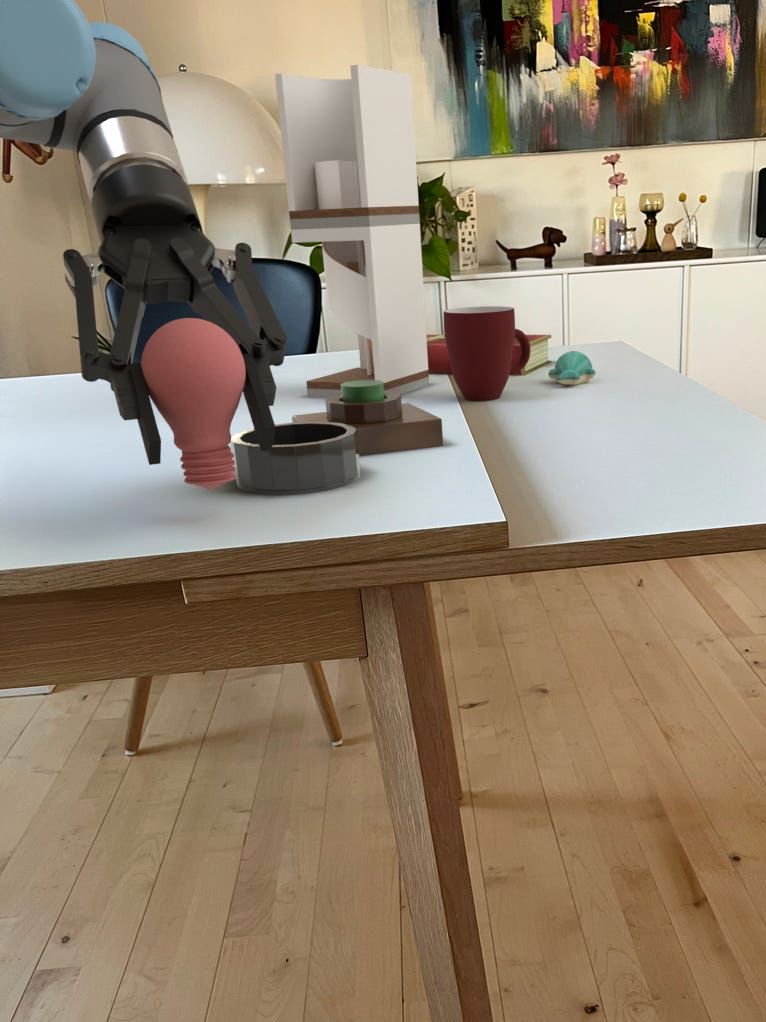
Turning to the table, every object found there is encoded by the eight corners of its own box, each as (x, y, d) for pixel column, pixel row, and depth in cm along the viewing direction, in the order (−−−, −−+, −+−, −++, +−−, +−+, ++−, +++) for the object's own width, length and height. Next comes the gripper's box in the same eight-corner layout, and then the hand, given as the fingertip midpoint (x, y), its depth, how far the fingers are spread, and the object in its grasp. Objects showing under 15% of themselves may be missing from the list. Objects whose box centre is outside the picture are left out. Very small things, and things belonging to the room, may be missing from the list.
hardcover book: (524, 376, 136) (523, 343, 134) (379, 374, 143) (377, 342, 142) (551, 363, 146) (551, 332, 145) (415, 362, 154) (413, 332, 152)
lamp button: (348, 407, 96) (346, 388, 95) (337, 401, 100) (336, 382, 99) (390, 403, 97) (388, 383, 97) (378, 396, 101) (376, 378, 100)
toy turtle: (599, 379, 131) (599, 348, 130) (591, 389, 125) (591, 356, 123) (553, 380, 132) (552, 349, 131) (543, 389, 126) (542, 357, 124)
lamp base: (317, 462, 94) (312, 412, 92) (294, 443, 102) (289, 396, 101) (443, 447, 98) (440, 398, 96) (410, 429, 106) (407, 384, 105)
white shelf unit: (358, 383, 137) (332, 82, 123) (429, 386, 132) (411, 74, 119) (308, 398, 127) (274, 74, 114) (382, 401, 123) (357, 64, 109)
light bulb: (163, 480, 79) (139, 316, 75) (259, 474, 80) (241, 311, 76) (153, 503, 73) (127, 325, 68) (257, 496, 74) (237, 320, 69)
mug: (504, 388, 128) (501, 303, 124) (547, 395, 122) (546, 306, 118) (434, 400, 122) (429, 311, 118) (476, 408, 116) (472, 314, 112)
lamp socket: (248, 503, 82) (242, 452, 80) (228, 476, 90) (222, 430, 89) (374, 486, 85) (370, 437, 83) (343, 462, 94) (338, 417, 92)
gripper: (264, 231, 87) (342, 459, 79) (5, 241, 79) (63, 495, 72) (274, 157, 80) (359, 398, 73) (-7, 160, 73) (55, 429, 65)
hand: (212, 445), depth 72 cm, fingers closed on light bulb, 7 cm apart
